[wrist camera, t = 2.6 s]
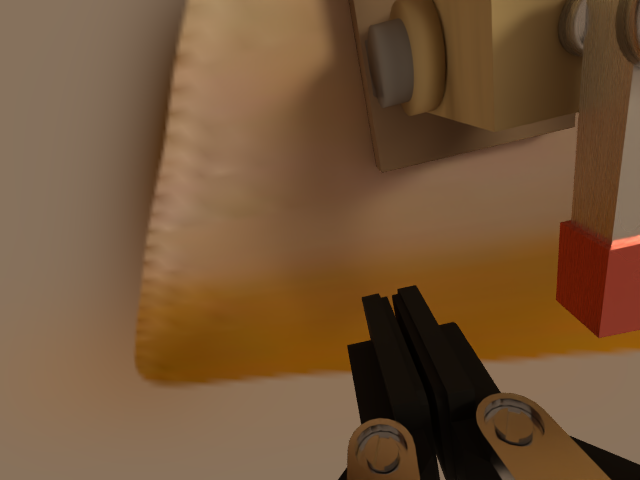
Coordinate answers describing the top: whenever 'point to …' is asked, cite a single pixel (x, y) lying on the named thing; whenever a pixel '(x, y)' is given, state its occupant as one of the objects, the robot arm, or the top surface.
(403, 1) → the valve
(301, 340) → the top surface
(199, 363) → the top surface
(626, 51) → the valve lever
